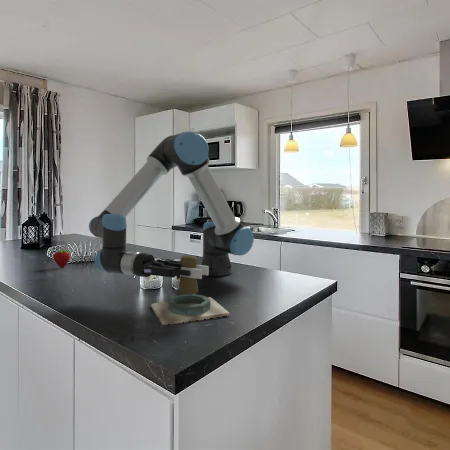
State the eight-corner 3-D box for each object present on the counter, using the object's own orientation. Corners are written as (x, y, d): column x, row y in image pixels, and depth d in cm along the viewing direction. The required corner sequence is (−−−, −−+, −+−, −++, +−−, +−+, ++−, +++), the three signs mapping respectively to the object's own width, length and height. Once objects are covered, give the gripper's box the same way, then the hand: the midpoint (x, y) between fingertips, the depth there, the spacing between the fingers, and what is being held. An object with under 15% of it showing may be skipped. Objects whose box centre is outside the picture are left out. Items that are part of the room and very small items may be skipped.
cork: (178, 288, 108) (179, 253, 106) (198, 288, 108) (198, 254, 107) (177, 294, 102) (178, 257, 100) (198, 294, 102) (199, 257, 101)
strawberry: (58, 266, 162) (58, 245, 161) (73, 267, 161) (72, 246, 160) (50, 269, 156) (49, 247, 155) (65, 270, 155) (64, 248, 154)
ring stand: (210, 299, 117) (210, 289, 116) (229, 316, 102) (229, 304, 102) (151, 306, 109) (151, 296, 109) (162, 325, 94) (162, 313, 94)
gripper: (153, 270, 119) (216, 278, 110) (121, 282, 103) (191, 292, 95) (154, 248, 118) (216, 255, 110) (121, 257, 103) (191, 265, 94)
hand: (204, 272), depth 102 cm, fingers closed on cork, 4 cm apart
